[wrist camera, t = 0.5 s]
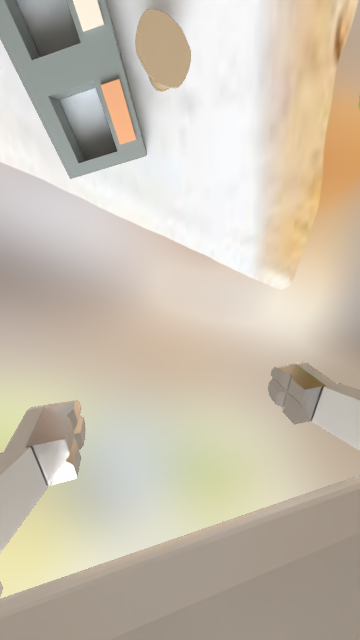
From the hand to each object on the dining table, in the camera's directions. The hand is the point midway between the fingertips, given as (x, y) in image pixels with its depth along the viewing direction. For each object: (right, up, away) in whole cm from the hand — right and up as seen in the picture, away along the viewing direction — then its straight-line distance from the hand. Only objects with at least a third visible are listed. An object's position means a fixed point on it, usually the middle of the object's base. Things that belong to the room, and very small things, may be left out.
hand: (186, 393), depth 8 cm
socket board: (-18, +43, +25) cm, 53 cm away
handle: (-4, +44, +26) cm, 52 cm away
